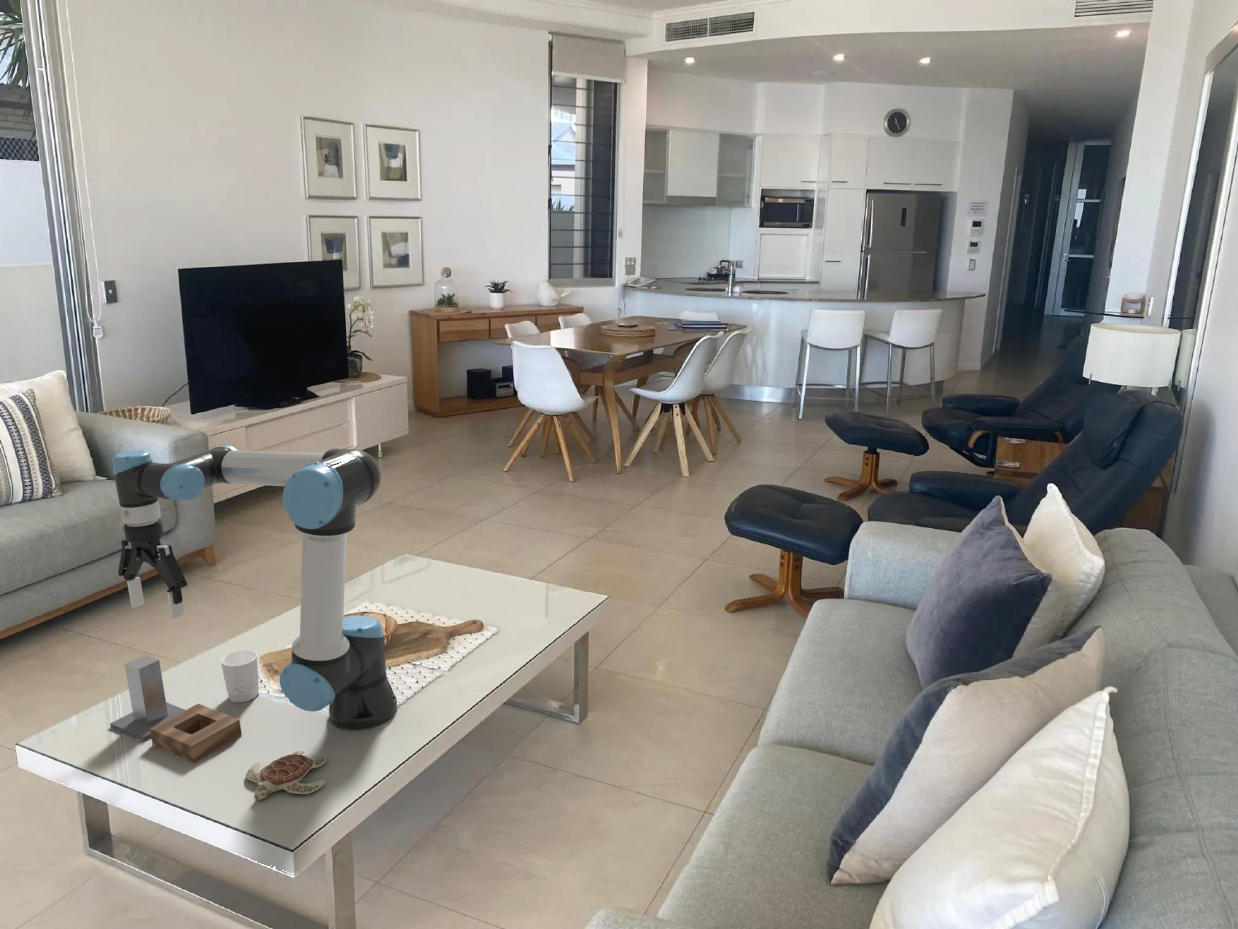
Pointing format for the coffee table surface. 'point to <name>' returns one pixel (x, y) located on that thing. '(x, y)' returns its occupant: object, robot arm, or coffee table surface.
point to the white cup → (241, 675)
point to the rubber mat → (139, 729)
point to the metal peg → (146, 690)
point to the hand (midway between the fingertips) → (157, 611)
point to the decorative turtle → (285, 775)
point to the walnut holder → (194, 747)
